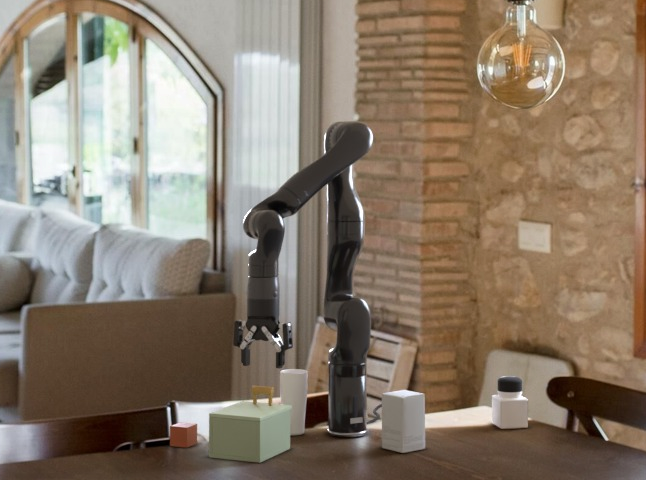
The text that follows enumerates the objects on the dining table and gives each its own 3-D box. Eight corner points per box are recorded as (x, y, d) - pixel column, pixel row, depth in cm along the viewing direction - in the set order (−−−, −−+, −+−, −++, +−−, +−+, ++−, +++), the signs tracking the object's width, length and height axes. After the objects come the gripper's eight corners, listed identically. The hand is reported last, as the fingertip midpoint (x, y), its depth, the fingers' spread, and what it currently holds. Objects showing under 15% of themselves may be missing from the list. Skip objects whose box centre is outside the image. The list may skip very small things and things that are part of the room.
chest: (240, 443, 299) (241, 405, 299) (290, 448, 294) (290, 409, 294) (208, 457, 285) (208, 416, 285) (259, 462, 280) (260, 421, 280)
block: (180, 442, 301) (180, 422, 301) (197, 443, 299) (197, 423, 299) (169, 446, 296) (169, 425, 296) (186, 447, 294) (187, 427, 295)
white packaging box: (426, 449, 293) (426, 393, 294) (401, 453, 289) (401, 397, 289) (405, 443, 299) (404, 388, 299) (380, 448, 294) (380, 392, 295)
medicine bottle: (528, 428, 316) (528, 379, 316) (500, 429, 315) (500, 380, 315) (518, 422, 323) (518, 374, 323) (491, 423, 322) (491, 375, 322)
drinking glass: (309, 431, 313) (309, 369, 313) (305, 437, 306) (305, 373, 306) (281, 430, 313) (282, 368, 314) (277, 436, 306) (277, 373, 307)
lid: (242, 404, 300) (242, 382, 300) (291, 408, 295) (291, 386, 295) (208, 416, 285) (209, 394, 286) (260, 421, 280) (260, 398, 280)
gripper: (298, 295, 296) (297, 366, 296) (243, 293, 302) (243, 362, 302) (283, 299, 290) (283, 371, 289) (228, 296, 295) (227, 367, 295)
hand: (262, 366), depth 295 cm, fingers open, 8 cm apart
